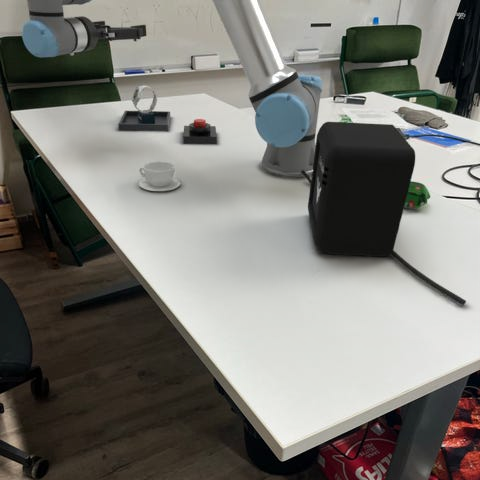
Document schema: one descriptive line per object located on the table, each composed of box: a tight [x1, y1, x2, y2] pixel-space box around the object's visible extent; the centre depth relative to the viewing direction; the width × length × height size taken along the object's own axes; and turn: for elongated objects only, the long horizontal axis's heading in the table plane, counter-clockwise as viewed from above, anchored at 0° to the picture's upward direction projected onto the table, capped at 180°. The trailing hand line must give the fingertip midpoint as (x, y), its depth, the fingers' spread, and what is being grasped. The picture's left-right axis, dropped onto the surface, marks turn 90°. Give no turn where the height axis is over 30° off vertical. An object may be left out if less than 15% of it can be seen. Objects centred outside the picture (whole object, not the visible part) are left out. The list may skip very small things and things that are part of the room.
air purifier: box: [307, 121, 416, 258], centre depth 92 cm, size 20×15×20 cm
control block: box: [182, 122, 218, 145], centre depth 148 cm, size 12×10×4 cm
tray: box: [117, 110, 171, 132], centre depth 160 cm, size 18×16×2 cm
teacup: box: [138, 160, 181, 192], centre depth 115 cm, size 10×10×5 cm
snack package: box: [404, 180, 431, 210], centre depth 111 cm, size 7×16×5 cm, turn 68°
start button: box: [193, 118, 207, 127], centre depth 146 cm, size 4×4×2 cm
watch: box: [131, 85, 158, 124], centre depth 157 cm, size 6×8×11 cm
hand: (124, 28), depth 136 cm, fingers open, 13 cm apart
